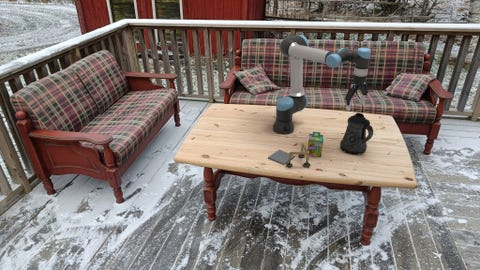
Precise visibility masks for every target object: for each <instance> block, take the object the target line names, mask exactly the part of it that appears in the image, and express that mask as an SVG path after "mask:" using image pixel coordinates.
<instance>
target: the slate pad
mask: <svg viewBox="0 0 480 270" xmlns="http://www.w3.org/2000/svg"><path fill="white" fill-rule="evenodd" d="M289 153H290V152H287V151H284V150H281V149H278V150H277V151H275V152H273V153H272V154H270V155H269V156H268V157H267V159H268V160H271V161H273V162H276V163H278V164H280V165H282V166H283V165H285V166H286V164H287V163H288V160H289ZM295 157H296V155H291V160H293V159H294V158H295Z"/></svg>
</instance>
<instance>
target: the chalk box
mask: <svg viewBox="0 0 480 270" xmlns="http://www.w3.org/2000/svg"><path fill="white" fill-rule="evenodd" d="M307 141H308V143H307V147H306V148H307V150H308V151H309V157H317V158H322V152H323V146H324V135H323V134H321V132H320V131H312V133H308V140H307Z"/></svg>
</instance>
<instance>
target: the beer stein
mask: <svg viewBox="0 0 480 270" xmlns="http://www.w3.org/2000/svg"><path fill="white" fill-rule="evenodd" d="M373 136H374V129H373V126H372V125H371V122H370V120H369V119H367V118H366V117H365V115H364V113H362V112H357V113H355V114H353V115H351V116H349V117H348V118H347V126H346V129H345V132H344V135H343V137H342V139H341V140H340V142H339V144H340V150H341V151H342V152H344V153H346V154H349V155H354V156H357V155H362V154H365V152H366V150H367V148H368V144H367V142H369V140H371V139H372V138H373Z"/></svg>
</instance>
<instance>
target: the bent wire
mask: <svg viewBox="0 0 480 270" xmlns="http://www.w3.org/2000/svg"><path fill="white" fill-rule="evenodd" d="M300 148H301V149H300V151H289V152H288V153H289V160H288V162H287V163H286V164H285V167H286V168H287V167H288V168H287V169H291V167H292V168H293V163H291V155H295V156H296V155H298V156H297V157H298V158H300V159H305V162H303V165H302V166H303V167H304V168H306V167H308V168H311V164H310V163H309V157H310V156H309V151H308V150H307V148H308V147H306V145H305V144H304V143H301V146H300ZM305 157H306V158H305Z"/></svg>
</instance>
